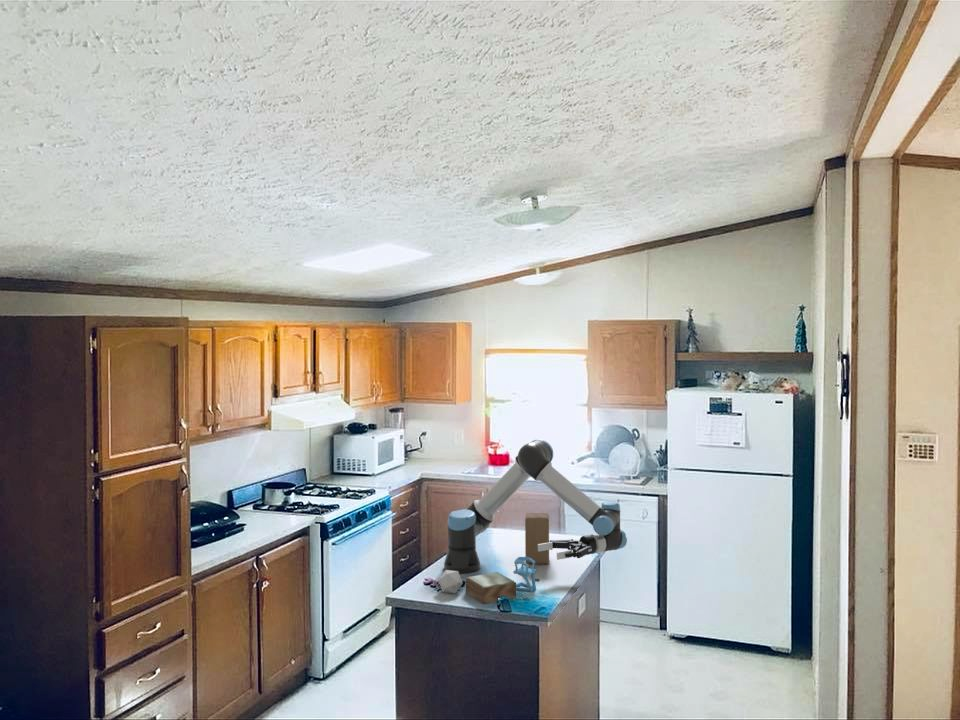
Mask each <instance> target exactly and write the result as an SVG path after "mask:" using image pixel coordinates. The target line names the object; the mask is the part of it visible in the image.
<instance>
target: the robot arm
mask: <svg viewBox="0 0 960 720" xmlns="http://www.w3.org/2000/svg"><path fill="white" fill-rule="evenodd" d="M553 458H554V449H553V447H552V445H551V444H550V443H549V442H547V440H544V439H535V440H531V441H530V442H528V443H525V444H524V445H523V446H522V447H521V448H520V449H519V450H518V453H517V455H516V456H515V463H513V465H512V466H511V467H510V468H508V470H507V472H505V473H504V474H503V476H501V477H500V479H499V480H498V481H496V483H495V484H494V485H493V486H492V487H491V488H490V489H489V490H488V491H487V493H485V494H484V496H483V497H482V498H481V499H475V500H474V501H473V502H472V503H471V504H470V505H469V506H468V508H463V509H457V510H454V511H451V512H450V513H449V514H448V517H447V521H446V523H447V553H446V555H445V559H444V561H443V567H444V568H443V569H444V571H445V570H451V571H458V572H459V574H469V573H473V572H477V571H479V570H480V569H481V561H480V559H479V555H478V552H477V543H476V542H477V541H476V539H477V536H479V535H480V534H482V533H484V532H485V531H486V530H487V529H488V528H489V526H490V524H492V523H493V521H495V519H496V516H495V514H496V513H497V512H498V511H499V510H500V509H501V508H502V507H503V506H504V505H505V504H506V503H507V502H508V501H509V499H510V498H512V496H513V495H515V493H516V492H517V491H518V490H519V489H520V488H521V487H523V486H524V485H525V483H526V482H527V481H528V480H529V479H530V478H532V479H533V480H535V481H536V482H540V483H541V484H543V485H544V486H545V487H546V488H547V489H549V490H550V491H551V492H552V493H554V495H556V496H557V497H558V498H559V499H561V501H563V502H564V503H565V504H566V505H568V506H569V507H570V508H571V509H572V510H573V511H575V512H576V513H577V514H578V515H579V516H581V517H582V518H583V519H584V520H585V521H587V523H589V524H590V525H591V526H592V529H593V530H594V533H592V534H587V535H582V536H581V537H580V538H579V540H576V539H575V540H574V539H573V538H570V539H549V543H543V544H538V551H545V550H549V551H553V549H561V550H562V549H564V550H562V551H556V560H564V559H570V558H572V557H573V558H576V559H581V558H583V557H584V556H588V555H593V554H597V555H598V554H600V553H604V552H609V551H617V550H620V549H623V548H625V547H626V545H627V542H628V538H627V536H626V535H627V534H626V533H625V531H624V530H622V529H621V506H620V503H619V502H616V501H604V502H602V503H601V505H599V504H597V503H596V502H595V501H594V500H593V499H591V498H590V497H589V496H588V495H586V493H584V492H583V491H582V490H581V489H580V488H579V487H577V486H576V485H574V483H573V482H571V481H570V480H569V479H567V478H566V477H565V476H564V475H563V474H561V473H560V472H559V471H558V470H557V469H556V468H555V467H554V466H552V460H553ZM565 549H566V550H565Z"/></svg>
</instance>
